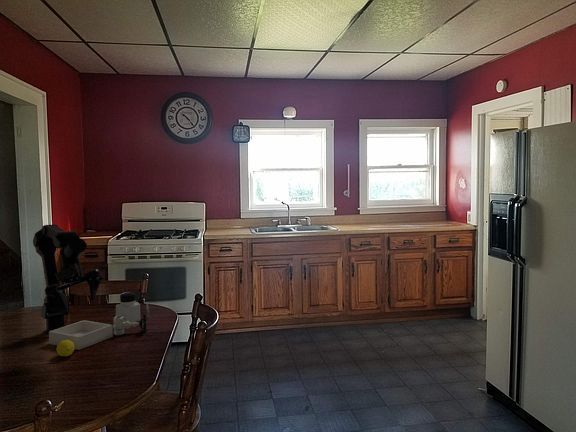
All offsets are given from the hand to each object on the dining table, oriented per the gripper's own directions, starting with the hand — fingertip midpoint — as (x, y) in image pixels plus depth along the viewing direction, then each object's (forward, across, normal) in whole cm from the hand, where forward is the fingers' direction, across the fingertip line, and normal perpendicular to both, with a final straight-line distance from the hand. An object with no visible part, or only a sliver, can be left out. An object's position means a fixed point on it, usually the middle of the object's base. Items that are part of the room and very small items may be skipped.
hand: (80, 306), depth 149 cm
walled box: (+8, -9, +16) cm, 19 cm away
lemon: (+14, -9, +2) cm, 17 cm away
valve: (+10, +6, +24) cm, 27 cm away
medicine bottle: (+3, +2, +38) cm, 38 cm away
